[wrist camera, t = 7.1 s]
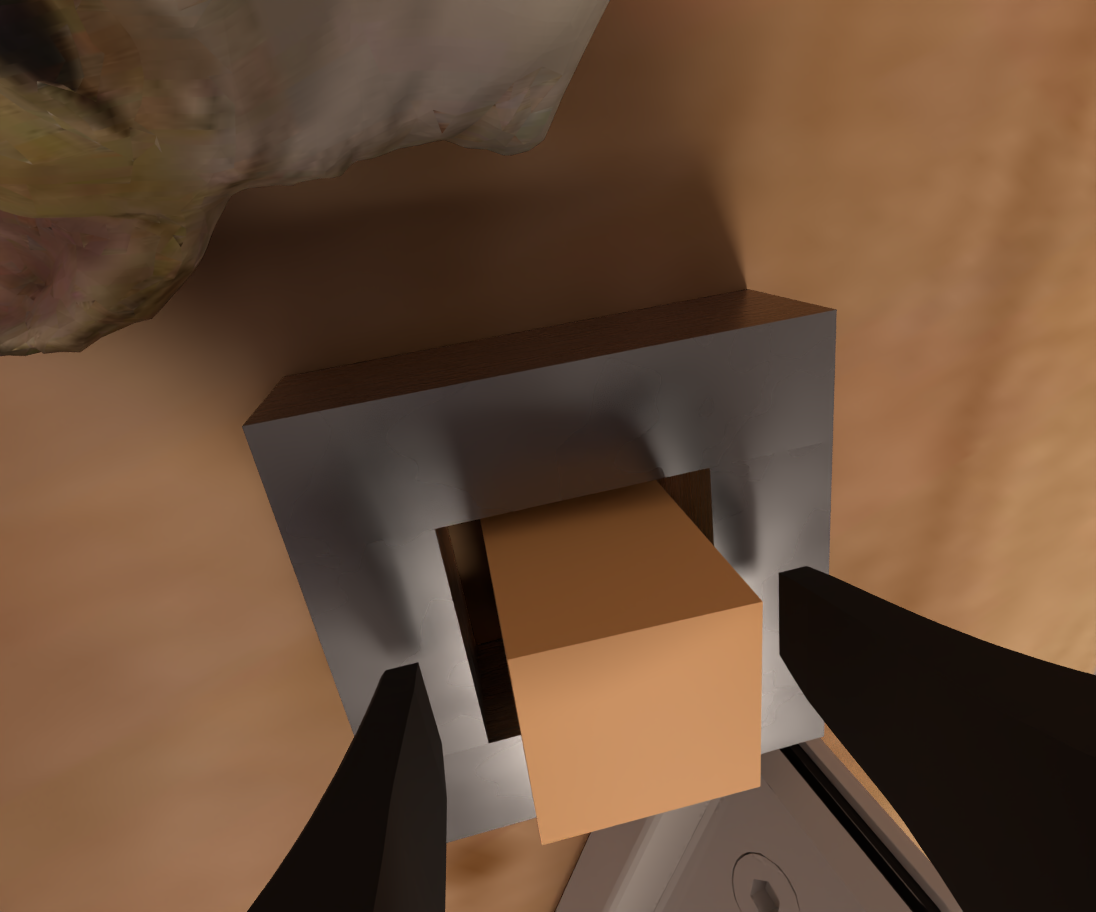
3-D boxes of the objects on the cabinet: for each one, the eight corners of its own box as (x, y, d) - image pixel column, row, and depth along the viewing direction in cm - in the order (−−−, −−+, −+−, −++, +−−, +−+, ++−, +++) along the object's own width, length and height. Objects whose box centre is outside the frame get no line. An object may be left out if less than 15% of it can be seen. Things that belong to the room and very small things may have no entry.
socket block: (401, 742, 18) (398, 856, 15) (283, 376, 14) (241, 426, 11) (756, 649, 19) (823, 736, 16) (748, 289, 15) (836, 309, 12)
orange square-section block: (496, 607, 17) (542, 845, 11) (471, 474, 16) (507, 659, 9) (636, 576, 18) (759, 786, 11) (626, 445, 16) (763, 601, 10)
